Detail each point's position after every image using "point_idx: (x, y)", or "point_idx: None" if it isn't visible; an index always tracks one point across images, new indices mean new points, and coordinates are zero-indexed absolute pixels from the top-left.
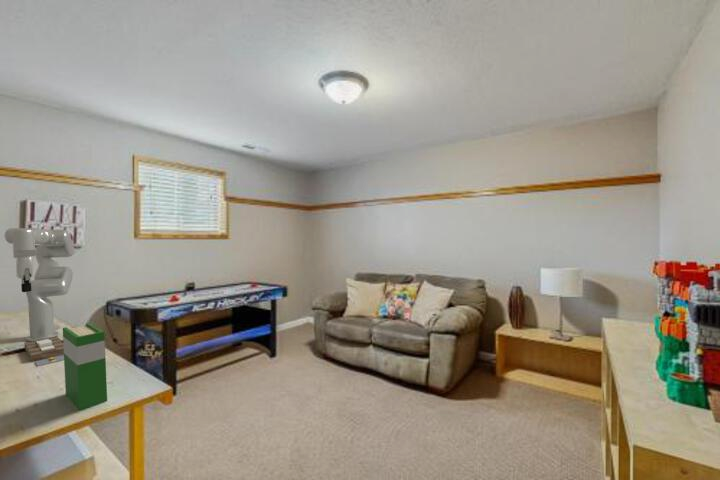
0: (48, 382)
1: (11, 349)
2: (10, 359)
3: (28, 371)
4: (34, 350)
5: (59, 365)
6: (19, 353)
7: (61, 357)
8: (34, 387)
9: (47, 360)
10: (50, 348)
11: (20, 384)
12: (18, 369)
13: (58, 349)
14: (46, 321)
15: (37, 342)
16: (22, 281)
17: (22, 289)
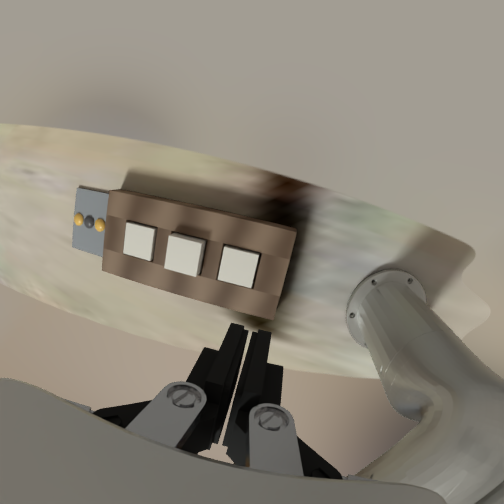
0: (3, 176)
1: (331, 203)
2: (202, 163)
3: (65, 166)
4: (150, 212)
5: (51, 218)
6: (248, 198)
7: (87, 241)
8: (2, 157)
9: (92, 214)
10: (124, 243)
11: (23, 143)
12: (93, 155)
13: (103, 251)
14: (370, 345)
15: (235, 251)
16: (169, 410)
17: (225, 339)
